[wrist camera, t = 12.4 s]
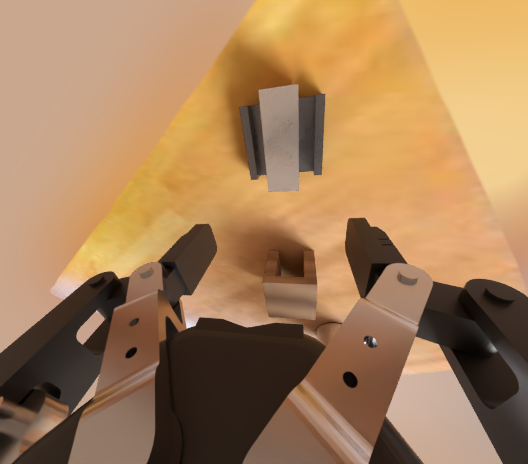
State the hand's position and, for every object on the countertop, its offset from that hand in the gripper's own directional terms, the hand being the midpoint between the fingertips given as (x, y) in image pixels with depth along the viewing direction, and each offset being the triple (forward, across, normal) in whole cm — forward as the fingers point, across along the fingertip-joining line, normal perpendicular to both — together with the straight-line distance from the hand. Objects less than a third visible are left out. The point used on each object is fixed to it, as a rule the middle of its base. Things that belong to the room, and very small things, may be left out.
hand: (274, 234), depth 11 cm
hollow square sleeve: (+21, +1, +23) cm, 31 cm away
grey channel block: (+20, 0, -3) cm, 21 cm away
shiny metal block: (+19, 0, -3) cm, 20 cm away
